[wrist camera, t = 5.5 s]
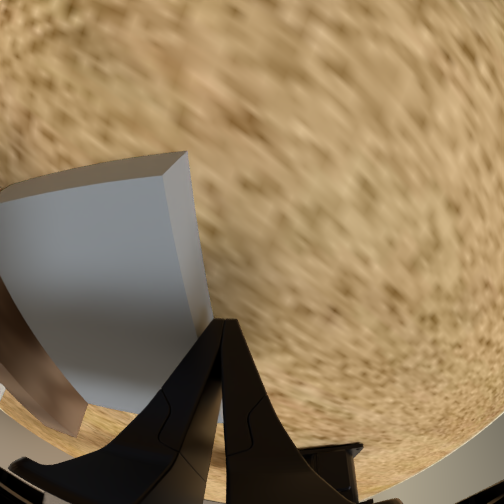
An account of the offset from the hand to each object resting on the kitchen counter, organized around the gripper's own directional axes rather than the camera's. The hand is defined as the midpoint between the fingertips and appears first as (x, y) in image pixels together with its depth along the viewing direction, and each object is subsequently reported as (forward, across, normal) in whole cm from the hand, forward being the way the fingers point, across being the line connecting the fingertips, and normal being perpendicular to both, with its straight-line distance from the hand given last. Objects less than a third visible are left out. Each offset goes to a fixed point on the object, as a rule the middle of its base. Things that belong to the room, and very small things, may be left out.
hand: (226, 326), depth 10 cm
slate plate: (+2, +5, +1) cm, 5 cm away
